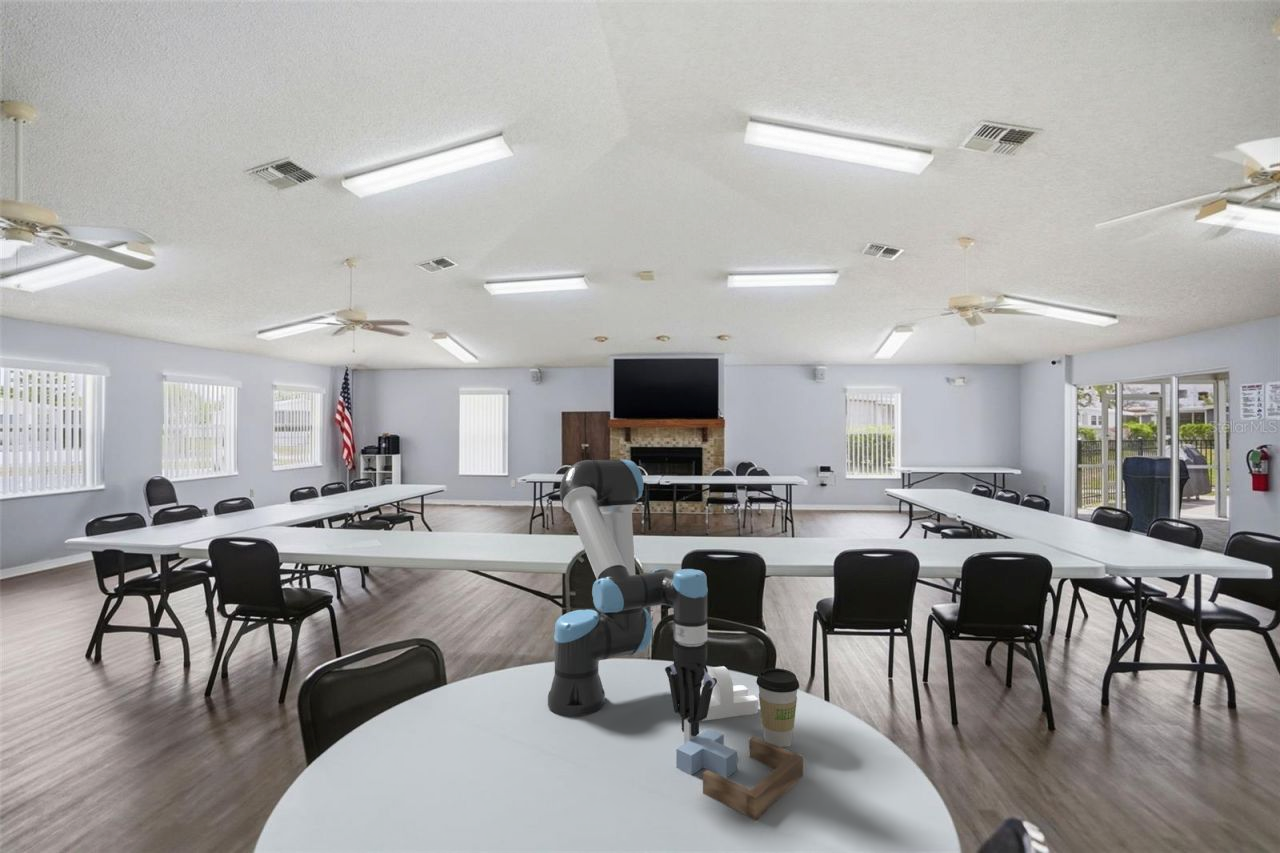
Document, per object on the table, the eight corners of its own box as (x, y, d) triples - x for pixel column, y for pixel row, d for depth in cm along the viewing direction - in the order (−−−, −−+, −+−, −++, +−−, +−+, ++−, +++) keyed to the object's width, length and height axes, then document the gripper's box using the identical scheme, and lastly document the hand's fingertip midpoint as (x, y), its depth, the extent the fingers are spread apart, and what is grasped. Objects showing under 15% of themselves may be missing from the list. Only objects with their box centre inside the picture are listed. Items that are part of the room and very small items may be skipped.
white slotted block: (680, 705, 153) (680, 664, 153) (743, 698, 158) (743, 658, 158) (693, 723, 144) (693, 679, 144) (759, 714, 149) (759, 671, 149)
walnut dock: (702, 793, 115) (702, 772, 115) (752, 754, 129) (752, 736, 129) (755, 820, 107) (755, 797, 107) (803, 775, 121) (803, 756, 121)
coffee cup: (801, 753, 129) (800, 685, 130) (756, 748, 131) (756, 682, 132) (798, 731, 139) (797, 668, 139) (756, 727, 141) (756, 665, 141)
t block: (676, 767, 124) (676, 748, 124) (709, 745, 133) (709, 728, 133) (715, 786, 117) (715, 766, 117) (746, 762, 126) (746, 743, 126)
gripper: (657, 638, 131) (657, 744, 130) (704, 652, 122) (704, 766, 121) (677, 630, 136) (677, 732, 136) (724, 643, 128) (724, 752, 127)
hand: (690, 748), depth 128 cm, fingers closed
